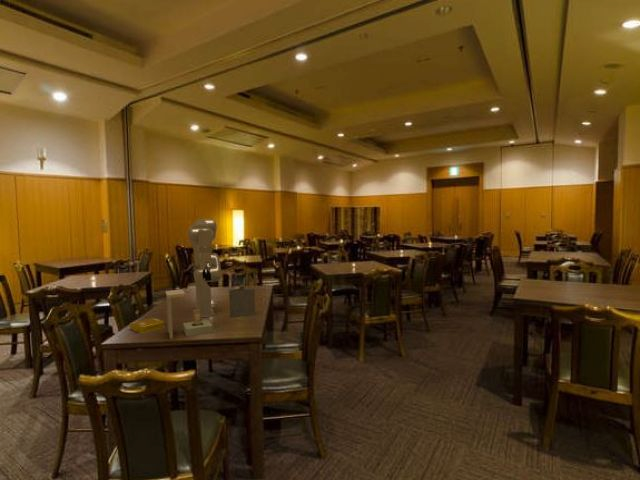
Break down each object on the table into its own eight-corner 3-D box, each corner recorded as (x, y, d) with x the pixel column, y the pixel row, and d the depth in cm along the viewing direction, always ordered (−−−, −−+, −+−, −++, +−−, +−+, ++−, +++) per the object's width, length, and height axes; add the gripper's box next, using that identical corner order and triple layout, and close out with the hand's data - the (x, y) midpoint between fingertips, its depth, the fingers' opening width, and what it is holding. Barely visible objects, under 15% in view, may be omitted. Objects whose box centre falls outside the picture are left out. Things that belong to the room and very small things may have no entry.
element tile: (165, 328, 226) (165, 320, 225) (140, 334, 214) (139, 326, 214) (154, 324, 236) (153, 316, 235) (128, 330, 224) (128, 322, 224)
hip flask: (254, 314, 253) (253, 284, 252) (255, 315, 249) (254, 285, 248) (230, 316, 249) (228, 285, 248) (230, 317, 245) (229, 286, 244)
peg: (193, 330, 218) (192, 310, 217) (201, 329, 219) (199, 309, 219) (194, 332, 214) (193, 311, 213) (202, 331, 216) (201, 310, 215)
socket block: (167, 332, 216) (165, 291, 215) (208, 326, 226) (206, 287, 225) (169, 339, 204) (167, 295, 202) (212, 332, 213) (210, 290, 212)
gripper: (196, 249, 228) (198, 278, 229) (201, 251, 212) (202, 282, 213) (209, 248, 231) (210, 276, 232) (214, 250, 215) (216, 280, 216)
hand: (206, 279), depth 223 cm, fingers open, 9 cm apart
